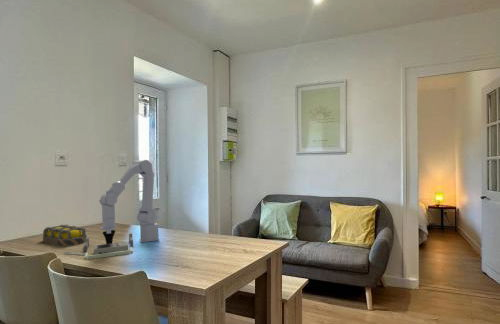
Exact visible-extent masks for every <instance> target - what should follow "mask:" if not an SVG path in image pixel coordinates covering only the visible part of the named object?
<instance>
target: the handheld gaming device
mask: <svg viewBox="0 0 500 324" xmlns="http://www.w3.org/2000/svg"><path fill="white" fill-rule="evenodd" d="M128 250H129V245H128V242H112V243H111V244H106V243H105V244H104V243H103V244H95V245H94V246H93V255H96V254H104V253H112V252H120V251H128Z"/></svg>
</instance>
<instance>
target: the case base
mask: <svg viewBox="0 0 500 324" xmlns="http://www.w3.org/2000/svg"><path fill="white" fill-rule="evenodd" d="M128 240H129V241H128V243H130V244H129V245H130V247H134V239H133V232H129V233H128ZM83 247H84V249H83V250H84V253H87V252H88V249H89V247H90V237H87V238H85V242H84V245H83Z"/></svg>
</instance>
